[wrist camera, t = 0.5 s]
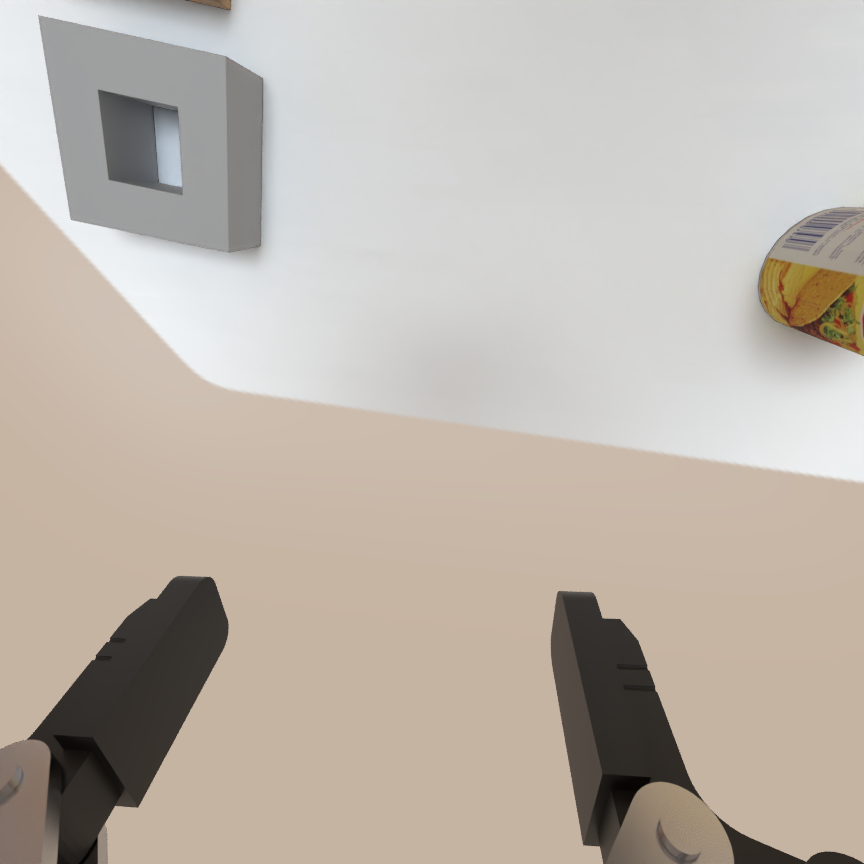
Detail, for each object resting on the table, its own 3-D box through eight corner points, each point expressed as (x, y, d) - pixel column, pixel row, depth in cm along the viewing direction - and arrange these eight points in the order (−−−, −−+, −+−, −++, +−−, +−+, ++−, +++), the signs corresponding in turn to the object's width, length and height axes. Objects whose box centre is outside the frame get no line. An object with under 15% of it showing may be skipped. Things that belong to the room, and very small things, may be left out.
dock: (104, 43, 29) (38, 15, 24) (262, 78, 29) (225, 56, 24) (123, 217, 33) (70, 220, 29) (260, 245, 33) (228, 252, 29)
